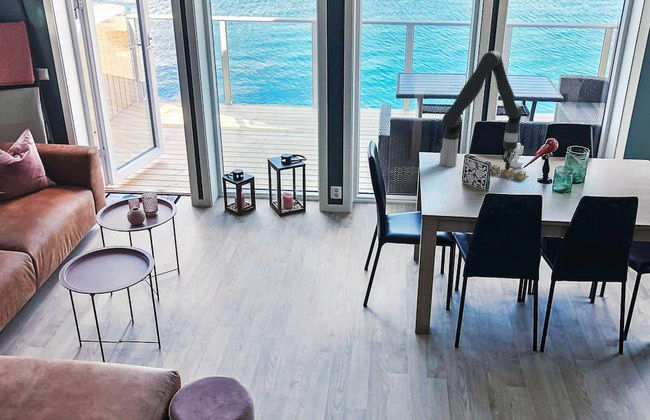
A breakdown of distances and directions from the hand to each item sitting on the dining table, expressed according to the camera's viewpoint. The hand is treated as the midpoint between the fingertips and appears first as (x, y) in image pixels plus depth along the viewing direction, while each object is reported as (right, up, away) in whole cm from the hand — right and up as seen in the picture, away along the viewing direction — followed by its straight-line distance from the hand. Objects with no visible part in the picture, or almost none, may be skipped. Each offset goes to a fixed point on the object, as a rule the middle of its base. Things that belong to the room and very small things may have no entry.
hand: (507, 168), depth 357 cm
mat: (0, -4, +2) cm, 5 cm away
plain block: (0, -4, +2) cm, 4 cm away
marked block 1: (-6, -2, +6) cm, 9 cm away
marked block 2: (+6, -6, -3) cm, 9 cm away
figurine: (+10, +2, +17) cm, 20 cm away
